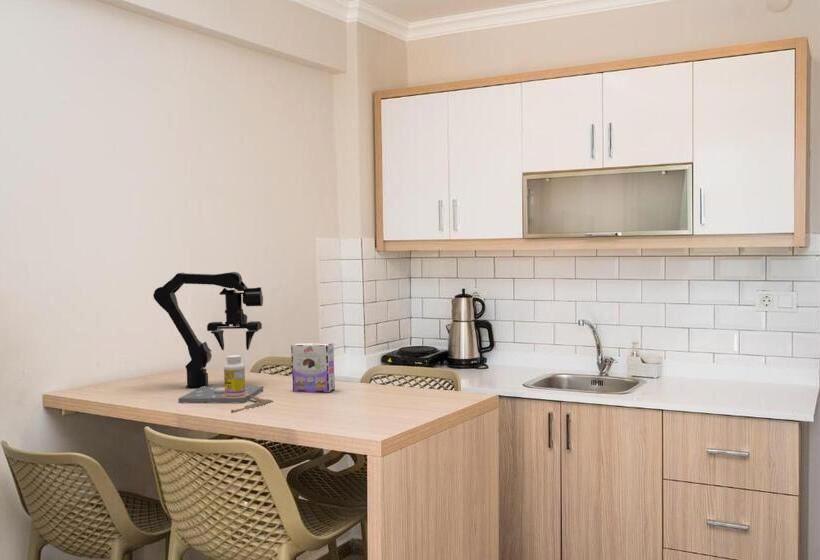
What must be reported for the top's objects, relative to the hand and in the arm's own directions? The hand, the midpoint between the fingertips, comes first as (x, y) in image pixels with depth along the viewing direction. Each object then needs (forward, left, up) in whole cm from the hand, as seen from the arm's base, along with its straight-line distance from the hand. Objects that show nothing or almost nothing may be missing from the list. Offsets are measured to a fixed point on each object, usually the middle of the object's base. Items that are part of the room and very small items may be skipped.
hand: (235, 349), depth 293 cm
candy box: (+31, -10, -13) cm, 35 cm away
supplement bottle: (+9, -26, -12) cm, 30 cm away
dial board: (+2, -21, -13) cm, 24 cm away
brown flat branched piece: (+14, -35, -14) cm, 40 cm away
